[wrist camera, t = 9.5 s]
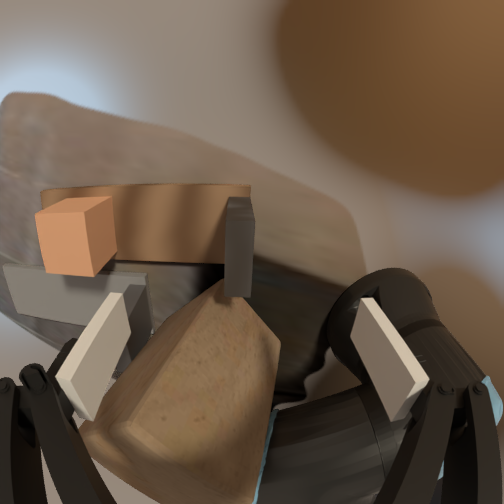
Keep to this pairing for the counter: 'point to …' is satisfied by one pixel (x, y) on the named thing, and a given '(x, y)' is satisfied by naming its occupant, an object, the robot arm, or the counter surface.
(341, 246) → the counter surface
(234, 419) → the wooden block
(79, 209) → the terracotta cube
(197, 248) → the walnut strip
